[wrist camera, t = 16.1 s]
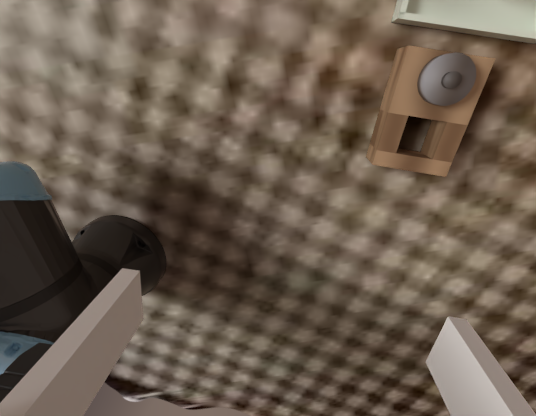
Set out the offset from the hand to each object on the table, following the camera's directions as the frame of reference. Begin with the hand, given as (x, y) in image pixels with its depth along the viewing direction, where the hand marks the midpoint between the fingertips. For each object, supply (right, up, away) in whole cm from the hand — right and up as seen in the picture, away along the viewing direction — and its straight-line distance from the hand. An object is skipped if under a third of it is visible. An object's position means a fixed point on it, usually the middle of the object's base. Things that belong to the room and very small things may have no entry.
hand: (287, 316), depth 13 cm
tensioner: (+18, +17, +24) cm, 34 cm away
